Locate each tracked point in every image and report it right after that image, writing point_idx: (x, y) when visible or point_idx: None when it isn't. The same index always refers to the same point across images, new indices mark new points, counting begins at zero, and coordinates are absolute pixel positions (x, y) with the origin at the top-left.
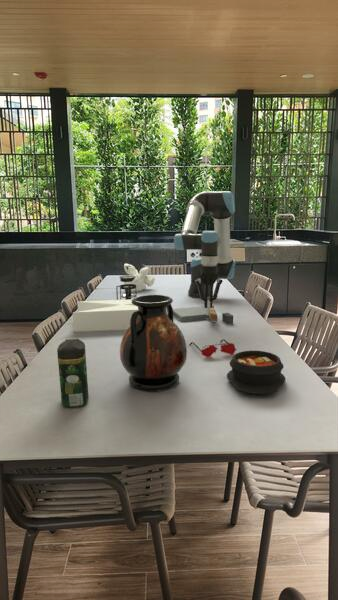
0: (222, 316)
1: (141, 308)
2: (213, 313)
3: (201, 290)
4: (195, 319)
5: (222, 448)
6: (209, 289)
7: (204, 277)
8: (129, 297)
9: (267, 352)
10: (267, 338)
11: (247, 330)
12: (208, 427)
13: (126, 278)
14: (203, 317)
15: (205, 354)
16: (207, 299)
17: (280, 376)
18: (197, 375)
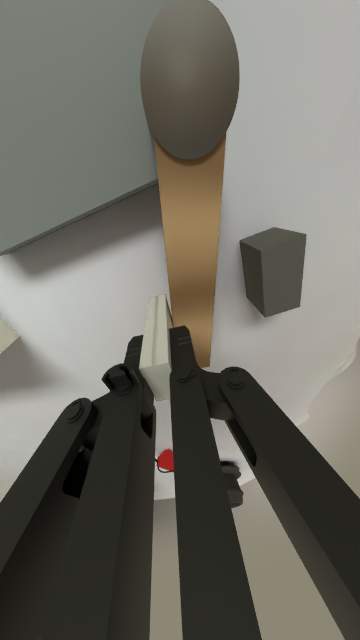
0: (251, 249)
1: None
2: (193, 344)
3: (33, 634)
4: (81, 218)
5: (174, 497)
6: (187, 629)
7: None
8: None
9: (235, 502)
10: (298, 394)
11: (286, 353)
12: (167, 493)
13: None
14: (128, 194)
15: (162, 456)
16: (154, 423)
17: (236, 477)
18: (155, 471)
